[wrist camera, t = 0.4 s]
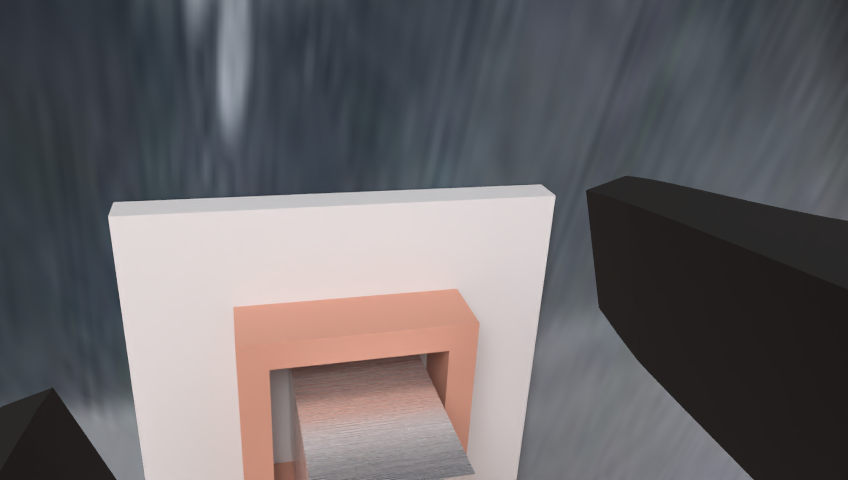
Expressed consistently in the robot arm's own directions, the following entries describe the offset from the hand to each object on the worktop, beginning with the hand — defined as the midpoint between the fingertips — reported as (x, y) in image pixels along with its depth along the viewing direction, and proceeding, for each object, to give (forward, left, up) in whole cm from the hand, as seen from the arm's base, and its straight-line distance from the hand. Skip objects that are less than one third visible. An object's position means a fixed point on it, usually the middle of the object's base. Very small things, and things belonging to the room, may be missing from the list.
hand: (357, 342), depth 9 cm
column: (-8, -2, -9) cm, 12 cm away
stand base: (-8, -2, -10) cm, 13 cm away
